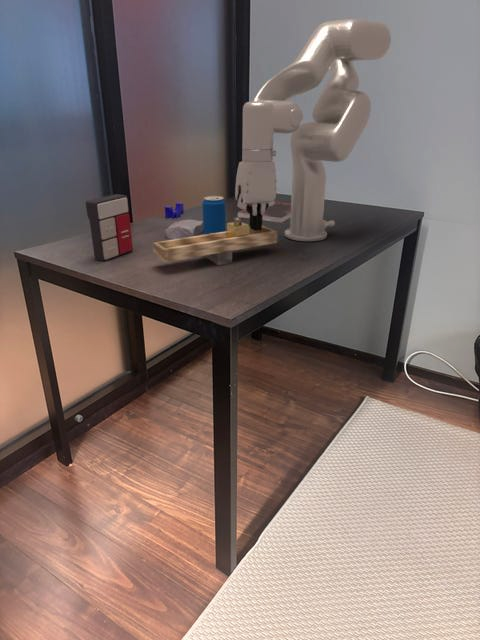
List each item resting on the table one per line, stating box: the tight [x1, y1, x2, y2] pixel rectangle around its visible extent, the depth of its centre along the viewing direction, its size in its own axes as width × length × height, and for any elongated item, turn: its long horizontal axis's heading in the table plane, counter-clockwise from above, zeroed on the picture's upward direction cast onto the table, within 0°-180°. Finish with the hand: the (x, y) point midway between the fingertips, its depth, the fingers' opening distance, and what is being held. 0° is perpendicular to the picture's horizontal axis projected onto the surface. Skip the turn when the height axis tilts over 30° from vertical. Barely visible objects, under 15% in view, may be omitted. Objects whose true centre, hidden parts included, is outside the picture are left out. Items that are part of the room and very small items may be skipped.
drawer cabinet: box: [85, 193, 133, 262], centre depth 124 cm, size 11×4×15 cm, turn 148°
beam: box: [152, 225, 278, 266], centre depth 123 cm, size 32×8×6 cm, turn 120°
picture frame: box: [237, 201, 291, 223], centre depth 170 cm, size 16×2×22 cm
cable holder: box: [164, 202, 185, 220], centre depth 165 cm, size 8×4×4 cm, turn 151°
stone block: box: [164, 219, 203, 240], centre depth 145 cm, size 12×5×10 cm
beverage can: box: [202, 195, 227, 235], centre depth 138 cm, size 6×6×12 cm
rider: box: [226, 216, 250, 238], centre depth 124 cm, size 4×4×6 cm
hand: (255, 229), depth 126 cm, fingers closed
